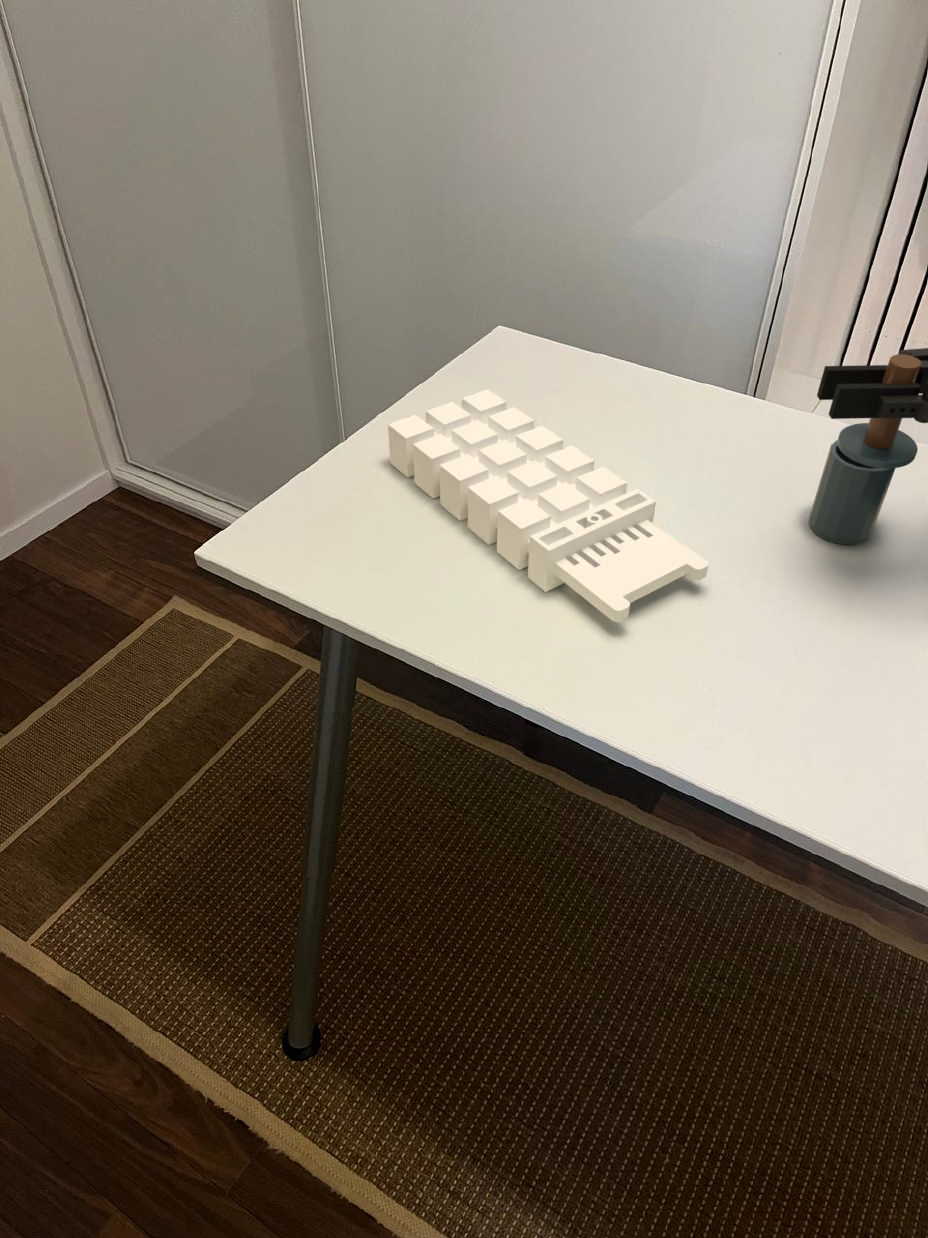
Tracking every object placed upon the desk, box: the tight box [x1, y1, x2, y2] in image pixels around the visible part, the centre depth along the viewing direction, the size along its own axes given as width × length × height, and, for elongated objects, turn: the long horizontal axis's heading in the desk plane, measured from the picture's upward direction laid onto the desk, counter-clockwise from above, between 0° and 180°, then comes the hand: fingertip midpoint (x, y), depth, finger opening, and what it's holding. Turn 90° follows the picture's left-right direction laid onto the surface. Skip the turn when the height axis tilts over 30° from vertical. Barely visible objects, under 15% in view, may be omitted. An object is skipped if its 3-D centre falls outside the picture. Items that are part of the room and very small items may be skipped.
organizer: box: [387, 389, 710, 623], centre depth 93 cm, size 13×5×35 cm
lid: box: [837, 353, 921, 469], centre depth 78 cm, size 6×6×9 cm
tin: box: [808, 439, 896, 546], centre depth 91 cm, size 6×6×8 cm
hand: (828, 392), depth 77 cm, fingers closed on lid, 2 cm apart
